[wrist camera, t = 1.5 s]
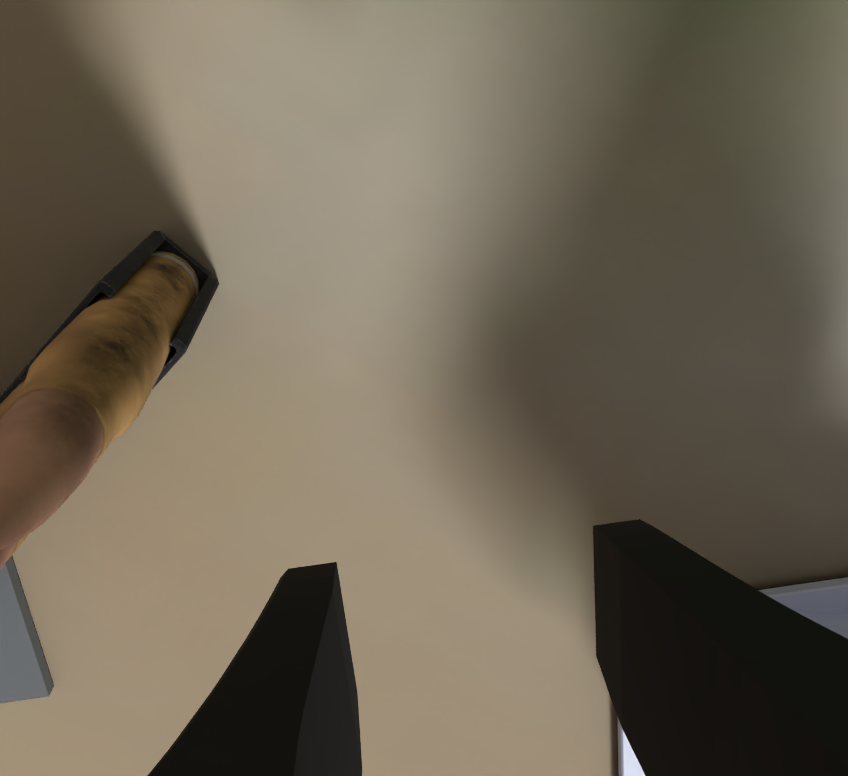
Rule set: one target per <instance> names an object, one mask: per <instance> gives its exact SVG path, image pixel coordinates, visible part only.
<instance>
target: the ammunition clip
mask: <svg viewBox="0 0 848 776" xmlns="http://www.w3.org/2000/svg"><path fill="white" fill-rule="evenodd" d="M218 285H219V282H218V279H217V278H216V277H214V276H213V275H212V274H211V273H210V272H208V271H207V270H206V269H205V268H203V267H202V266H201V265H200V264H199V263H197V262H196V261H195V260H194V259H193V258H191V257H190V256H189V255H188V254H187V253H185V252H184V251H183V250H182V249H181V248H179V247H178V246H177V245H176V244H175V243H173V242H172V241H171V240H170V239H169V238H167V237H166V236H165V235H164V234H163V233H161V232H160V231H154V232H153V233H152V234H151V235H149V236H148V237H147V238H146V239H145V240H144V241H143V242H142V243H141V244H140V245H139V246H137V247H136V248H135V249H134V250H133V251H132V252H131V253H130V254H129V255H128V256H127V257H126V258H124V259H123V260H122V261H121V262H120V263H119V264H118V265H117V266H116V267H115V268H114V269H112V270H111V271H110V272H109V273H108V274H107V275H106V276H105V277H104V278H103V279H102V280H100V281H99V282H98V283H97V284H96V286H95V287H94V288H93V289H92V290H91V291H90V293H89V294H88V295H87V296H86V297H85V298H84V300H83V301H82V302H81V303H80V304H79V305H78V307H77V308H76V309H75V310H74V311H73V312H72V314H71V315H70V316H69V317H68V318H67V319H66V321H65V322H64V323H63V324H62V325H61V326H60V328H59V329H58V330H57V331H56V332H55V333H54V335H53V336H52V337H51V338H50V339H49V340H48V342H47V343H46V344H45V345H44V346H43V347H42V349H41V350H40V351H39V352H38V353H37V354H36V356H35V357H34V358H33V359H32V360H31V361H30V363H29V364H28V365H27V366H26V367H25V368H24V369H23V371H22V372H21V373H20V374H19V375H18V376H17V378H16V379H15V380H14V381H13V382H12V383H11V385H10V386H9V387H8V388H7V389H6V390H5V392H4V393H3V394H2V395H1V396H0V570H1V569H2V567H3V566H4V564H5V563H6V561H7V560H8V559H9V558H10V557H11V556H12V555H13V554H14V552H15V551H16V550H17V549H18V548H19V546H20V545H21V544H22V542H23V541H24V540H25V538H26V537H27V536H28V534H29V533H31V532H32V531H34V530H35V529H37V528H38V527H39V526H40V525H41V524H43V523H44V522H45V521H46V520H47V519H49V518H50V517H51V516H52V515H53V514H54V513H55V512H56V511H57V510H58V508H59V507H60V506H61V505H62V504H63V503H64V502H65V501H66V500H67V498H68V497H69V496H70V495H71V494H72V493H73V492H74V491H75V489H76V488H77V487H78V486H79V485H80V484H81V482H82V481H83V480H84V478H85V477H86V475H87V474H88V472H89V471H90V469H91V467H92V466H93V464H94V463H95V462H96V461H97V460H98V459H99V458H100V456H101V455H102V454H103V453H104V451H105V450H106V448H107V447H108V445H109V444H110V442H112V441H113V440H115V439H116V438H118V437H119V436H120V435H121V434H123V433H124V432H125V431H126V429H127V428H128V427H129V426H130V425H131V424H132V423H133V422H134V420H135V419H136V418H137V416H138V415H139V413H140V411H141V409H142V408H143V406H144V404H145V402H146V400H147V398H148V396H149V394H150V392H151V390H152V389H153V388H154V387H155V386H156V385H157V384H158V382H159V381H160V380H161V379H162V378H163V377H164V376H165V375H166V374H167V372H168V371H169V370H170V369H171V368H172V367H173V366H174V365H175V363H176V362H177V361H178V360H179V359H180V358H181V357H182V356H183V354H184V353H185V352H186V350H187V348H188V346H189V344H190V342H191V340H192V338H193V336H194V334H195V332H196V330H197V328H198V326H199V324H200V322H201V320H202V318H203V316H204V314H205V312H206V310H207V307H208V305H209V303H210V301H211V299H212V297H213V295H214V293H215V291H216V289H217V287H218Z"/></svg>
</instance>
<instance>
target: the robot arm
mask: <svg viewBox="0 0 848 776" xmlns="http://www.w3.org/2000/svg"><path fill="white" fill-rule="evenodd" d="M593 540H594V580H595V619H596V656H597V659H598V662H599V665H600V668H601V671H602V674H603V677H604V680H605V682H606V685H607V688H608V691H609V694H610V697H611V700H612V702H613V705H614V708H615V710H616V713H617V716H618V769H619V776H848V577H846V578H839V579H832V580H825V581H818V582H812V583H805V584H798V585H791V586H784V587H777V588H770V589H763V590H757V589H755V588H753V587H752V586H750V585H748V584H746V583H745V582H743V581H741V580H740V579H738V578H736V577H735V576H733V575H731V574H730V573H728V572H726V571H725V570H723V569H721V568H720V567H718V566H716V565H715V564H713V563H712V562H710V561H708V560H707V559H705V558H703V557H702V556H700V555H699V554H697V553H695V552H694V551H692V550H691V549H689V548H687V547H686V546H684V545H682V544H681V543H679V542H678V541H676V540H674V539H673V538H671V537H669V536H668V535H666V534H665V533H663V532H661V531H660V530H658V529H656V528H654V527H653V526H651V525H649V524H647V523H646V522H644V521H642V520H640V519H638V520H631V521H624V522H617V523H610V524H603V525H596V526H593ZM148 776H362V760H361V743H360V727H359V712H358V696H357V688H356V682H355V675H354V669H353V663H352V657H351V650H350V644H349V638H348V632H347V625H346V619H345V613H344V607H343V600H342V594H341V588H340V582H339V575H338V569H337V563H336V562H334V563H327V564H320V565H312V566H305V567H298V568H291V569H288V570H287V571H286V572H285V573H284V574H283V576H282V577H281V578H280V580H279V582H278V584H277V586H276V587H275V589H274V591H273V593H272V595H271V597H270V598H269V600H268V602H267V604H266V606H265V607H264V609H263V611H262V613H261V614H260V616H259V618H258V620H257V621H256V623H255V625H254V626H253V628H252V630H251V631H250V633H249V635H248V636H247V638H246V640H245V641H244V643H243V644H242V646H241V647H240V649H239V650H238V652H237V654H236V655H235V657H234V658H233V660H232V661H231V663H230V664H229V666H228V668H227V669H226V671H225V672H224V674H223V675H222V677H221V678H220V680H219V681H218V683H217V684H216V686H215V687H214V689H213V690H212V692H211V693H210V694H209V696H208V697H207V699H206V700H205V701H204V703H203V704H202V705H201V707H200V708H199V709H198V711H197V712H196V714H195V715H194V716H193V718H192V719H191V720H190V722H189V723H188V724H187V726H186V727H185V729H184V730H183V731H182V733H181V734H180V735H179V737H178V738H177V739H176V741H175V742H174V743H173V745H172V746H171V747H170V749H169V750H168V751H167V752H166V754H165V755H164V756H163V757H162V759H161V760H160V761H159V762H158V764H157V765H156V766H155V767H154V769H153V770H152V771H151V772H150V773H149V775H148Z"/></svg>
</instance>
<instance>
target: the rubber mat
mask: <svg viewBox="0 0 848 776" xmlns="http://www.w3.org/2000/svg"><path fill="white" fill-rule="evenodd" d="M53 687H54V685H53V682H52V679H51V676H50V673H49V670H48V666H47V663H46V660H45V657H44V654H43V651H42V648H41V645H40V642H39V639H38V636H37V632H36V629H35V626H34V623H33V620H32V617H31V614H30V611H29V608H28V605H27V602H26V599H25V595H24V592H23V589H22V586H21V583H20V580H19V577H18V574H17V571H16V568H15V565H14V561H13V558H12V556H11V557H10V558H9V559H8V560H7V561H6V563H5V564H4V566H3V567H2V569H1V570H0V703H6V702H13V701H20V700H26V699H33V698H40V697H47V696H49V695H50V693H51V691H52V689H53Z"/></svg>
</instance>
